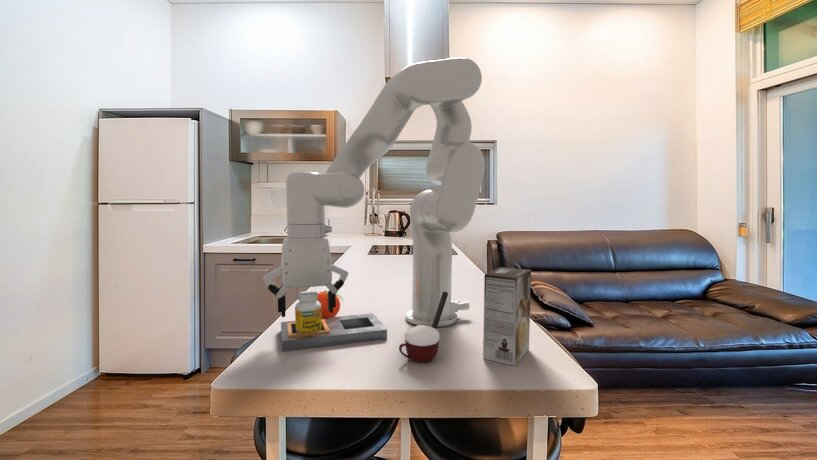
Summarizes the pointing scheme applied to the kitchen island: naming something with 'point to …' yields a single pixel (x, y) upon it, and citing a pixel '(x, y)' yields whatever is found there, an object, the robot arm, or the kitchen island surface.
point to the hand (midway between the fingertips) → (307, 313)
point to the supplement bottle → (308, 312)
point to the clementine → (324, 305)
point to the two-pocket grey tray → (334, 332)
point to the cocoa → (424, 338)
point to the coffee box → (506, 315)
